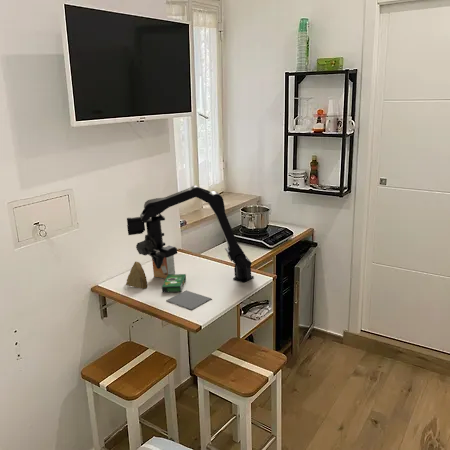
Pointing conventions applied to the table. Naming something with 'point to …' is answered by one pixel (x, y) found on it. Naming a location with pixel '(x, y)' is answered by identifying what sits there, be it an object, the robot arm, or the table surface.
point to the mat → (188, 300)
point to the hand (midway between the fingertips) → (158, 268)
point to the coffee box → (174, 283)
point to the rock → (137, 277)
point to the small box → (164, 267)
